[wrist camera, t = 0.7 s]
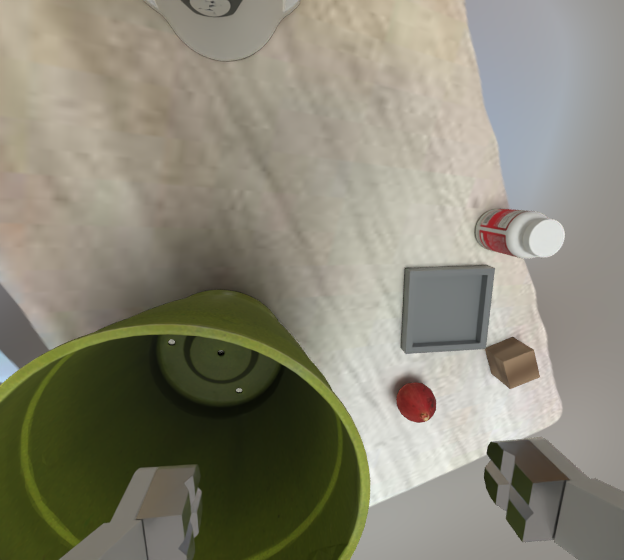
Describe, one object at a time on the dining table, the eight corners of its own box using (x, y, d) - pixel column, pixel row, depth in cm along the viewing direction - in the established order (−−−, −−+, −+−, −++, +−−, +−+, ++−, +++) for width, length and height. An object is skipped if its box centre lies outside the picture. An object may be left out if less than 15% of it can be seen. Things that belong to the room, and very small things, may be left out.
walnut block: (484, 347, 59) (503, 362, 54) (512, 336, 59) (533, 349, 54) (491, 373, 60) (510, 389, 56) (518, 362, 60) (539, 377, 56)
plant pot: (129, 438, 56) (-10, 679, 28) (111, 249, 49) (-99, 326, 21) (318, 431, 59) (357, 641, 32) (326, 253, 52) (387, 324, 25)
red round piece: (416, 367, 58) (437, 394, 51) (429, 393, 60) (452, 424, 52) (384, 384, 59) (401, 413, 51) (399, 410, 60) (417, 442, 52)
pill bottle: (506, 251, 55) (562, 266, 45) (469, 246, 54) (517, 260, 44) (517, 211, 54) (577, 216, 43) (479, 205, 53) (531, 209, 42)
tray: (404, 268, 54) (410, 271, 52) (486, 265, 55) (494, 268, 53) (400, 347, 57) (405, 353, 55) (478, 343, 59) (485, 348, 56)
